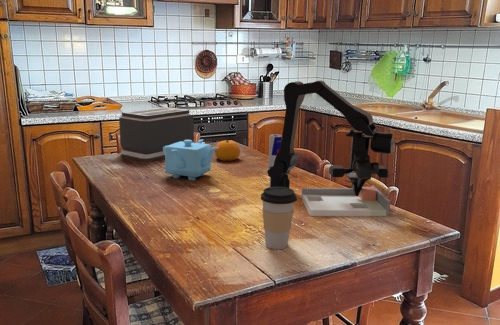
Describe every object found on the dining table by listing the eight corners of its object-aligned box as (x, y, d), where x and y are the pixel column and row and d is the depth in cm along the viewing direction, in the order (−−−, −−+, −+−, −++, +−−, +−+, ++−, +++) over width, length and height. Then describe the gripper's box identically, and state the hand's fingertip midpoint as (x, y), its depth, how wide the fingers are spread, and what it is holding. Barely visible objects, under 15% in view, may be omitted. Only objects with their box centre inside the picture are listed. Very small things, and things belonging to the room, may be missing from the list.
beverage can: (279, 171, 202) (280, 136, 198) (267, 170, 203) (268, 135, 199) (281, 168, 206) (282, 134, 203) (269, 167, 207) (270, 133, 204)
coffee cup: (257, 238, 131) (258, 185, 127) (291, 237, 131) (293, 185, 128) (261, 252, 121) (262, 196, 118) (297, 252, 122) (300, 196, 119)
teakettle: (160, 172, 196) (159, 137, 192) (204, 168, 203) (204, 134, 200) (172, 185, 179) (171, 146, 175) (219, 180, 186) (219, 143, 183)
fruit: (239, 162, 215) (239, 141, 213) (213, 162, 215) (213, 140, 213) (240, 156, 226) (240, 136, 224) (215, 156, 226) (215, 135, 224)
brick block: (362, 200, 159) (363, 190, 158) (358, 196, 163) (359, 186, 162) (375, 200, 159) (376, 190, 158) (371, 196, 163) (372, 186, 163)
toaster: (198, 149, 240) (198, 109, 235) (146, 162, 212) (144, 116, 208) (170, 144, 251) (170, 106, 246) (117, 156, 223) (115, 112, 218)
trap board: (310, 216, 149) (311, 200, 147) (301, 199, 165) (302, 185, 164) (389, 216, 150) (390, 201, 149) (372, 199, 167) (373, 185, 165)
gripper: (337, 155, 148) (334, 203, 152) (396, 156, 149) (392, 203, 153) (330, 148, 159) (327, 193, 163) (384, 149, 160) (380, 193, 164)
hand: (356, 196), depth 160 cm, fingers closed
